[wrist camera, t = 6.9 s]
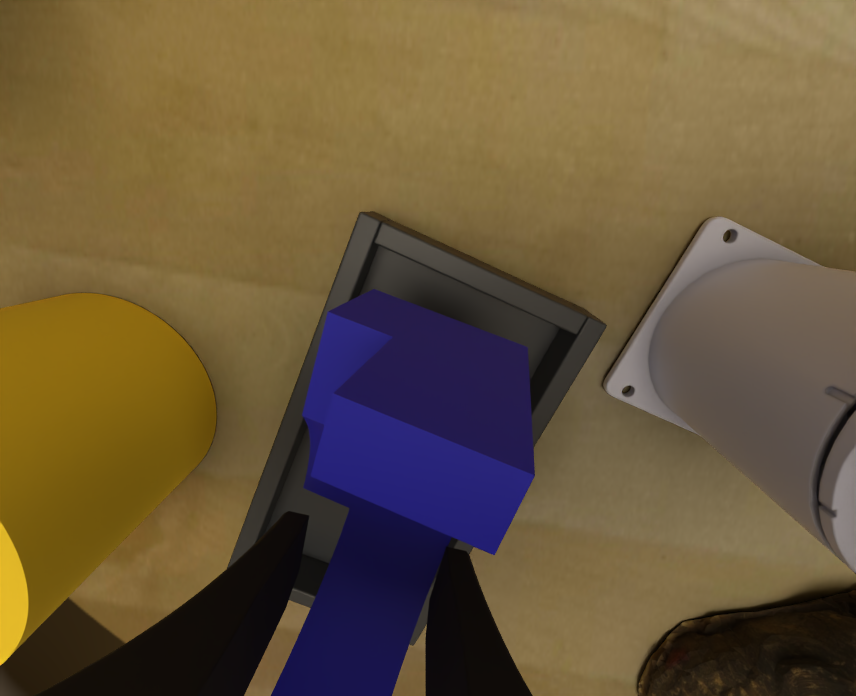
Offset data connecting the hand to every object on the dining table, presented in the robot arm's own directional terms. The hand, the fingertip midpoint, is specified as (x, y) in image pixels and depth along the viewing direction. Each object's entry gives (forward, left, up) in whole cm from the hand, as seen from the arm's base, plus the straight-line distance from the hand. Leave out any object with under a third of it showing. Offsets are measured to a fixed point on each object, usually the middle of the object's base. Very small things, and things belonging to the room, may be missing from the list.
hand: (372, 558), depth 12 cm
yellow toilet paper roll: (+13, +5, -8) cm, 16 cm away
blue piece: (0, -1, -2) cm, 2 cm away
